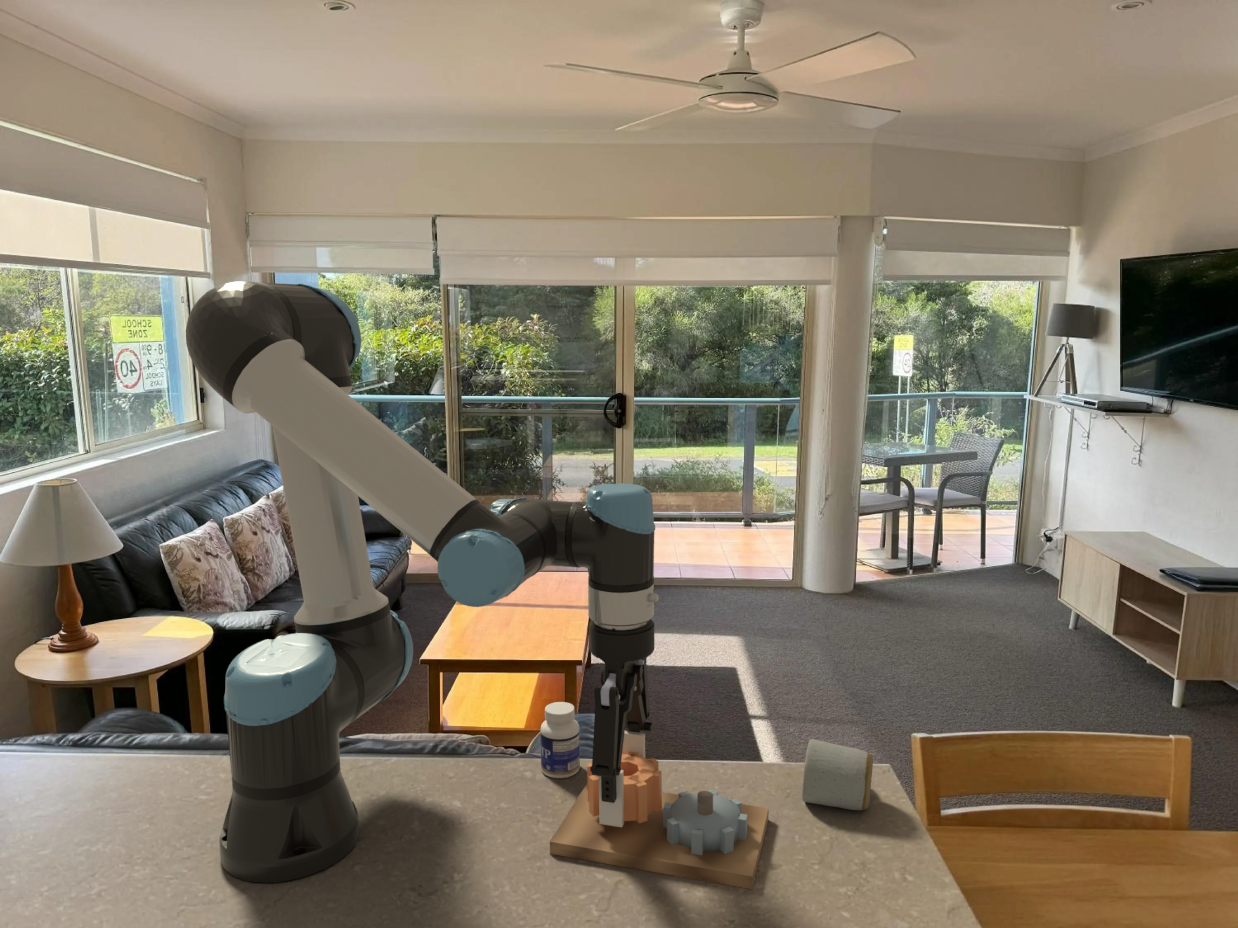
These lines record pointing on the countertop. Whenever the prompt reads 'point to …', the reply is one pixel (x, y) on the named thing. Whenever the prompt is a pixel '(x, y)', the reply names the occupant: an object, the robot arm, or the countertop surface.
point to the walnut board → (660, 844)
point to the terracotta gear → (632, 787)
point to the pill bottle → (560, 741)
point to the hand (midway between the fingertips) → (623, 801)
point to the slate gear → (705, 823)
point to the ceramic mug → (837, 776)
